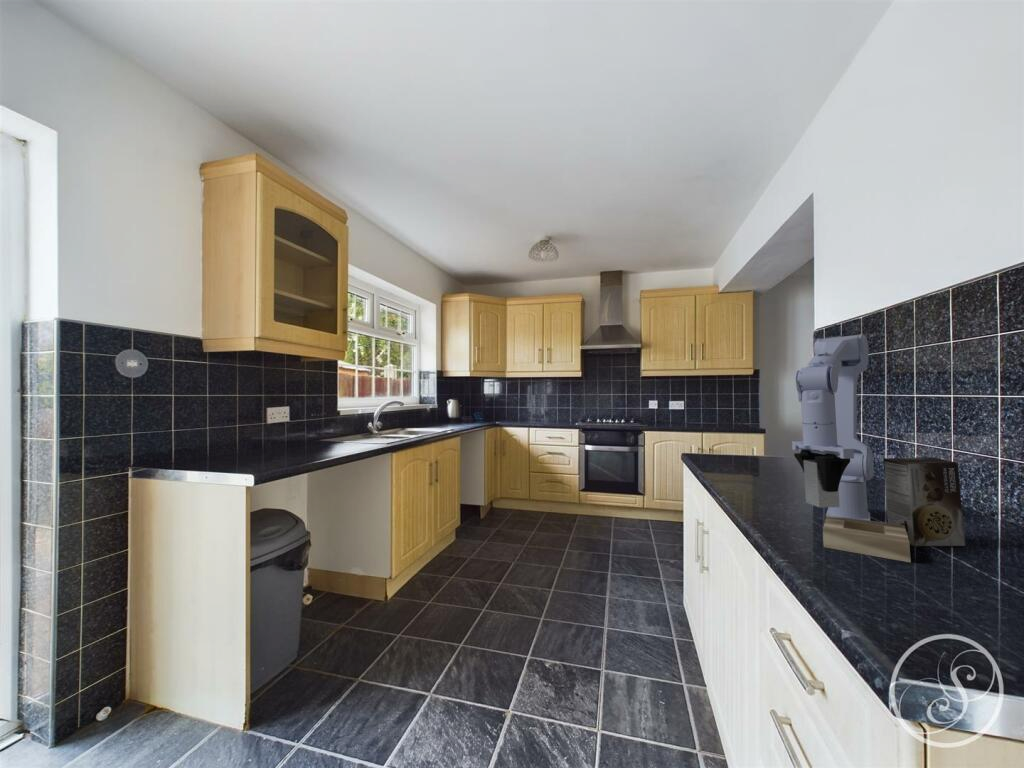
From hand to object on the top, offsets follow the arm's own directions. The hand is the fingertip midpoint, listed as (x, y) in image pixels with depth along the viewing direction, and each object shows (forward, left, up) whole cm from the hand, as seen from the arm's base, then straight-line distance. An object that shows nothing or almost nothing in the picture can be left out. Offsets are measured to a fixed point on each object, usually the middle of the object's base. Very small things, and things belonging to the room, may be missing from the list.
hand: (822, 489), depth 84 cm
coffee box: (-9, +15, -10) cm, 20 cm away
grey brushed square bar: (0, 0, -3) cm, 3 cm away
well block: (+1, +6, -10) cm, 12 cm away
